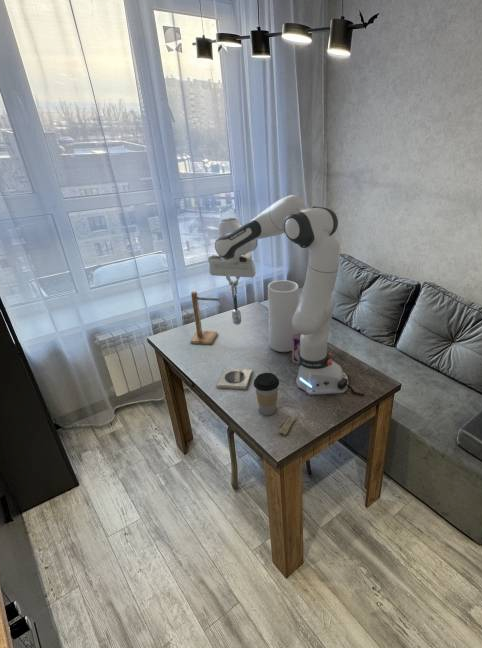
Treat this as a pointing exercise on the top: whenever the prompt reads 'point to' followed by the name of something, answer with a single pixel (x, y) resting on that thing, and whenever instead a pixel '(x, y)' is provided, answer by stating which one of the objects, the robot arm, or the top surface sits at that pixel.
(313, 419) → the top surface
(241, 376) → the hot plate
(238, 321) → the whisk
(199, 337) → the hook stand
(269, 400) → the coffee cup
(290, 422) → the snack bar
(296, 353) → the greeting card
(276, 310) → the vase
